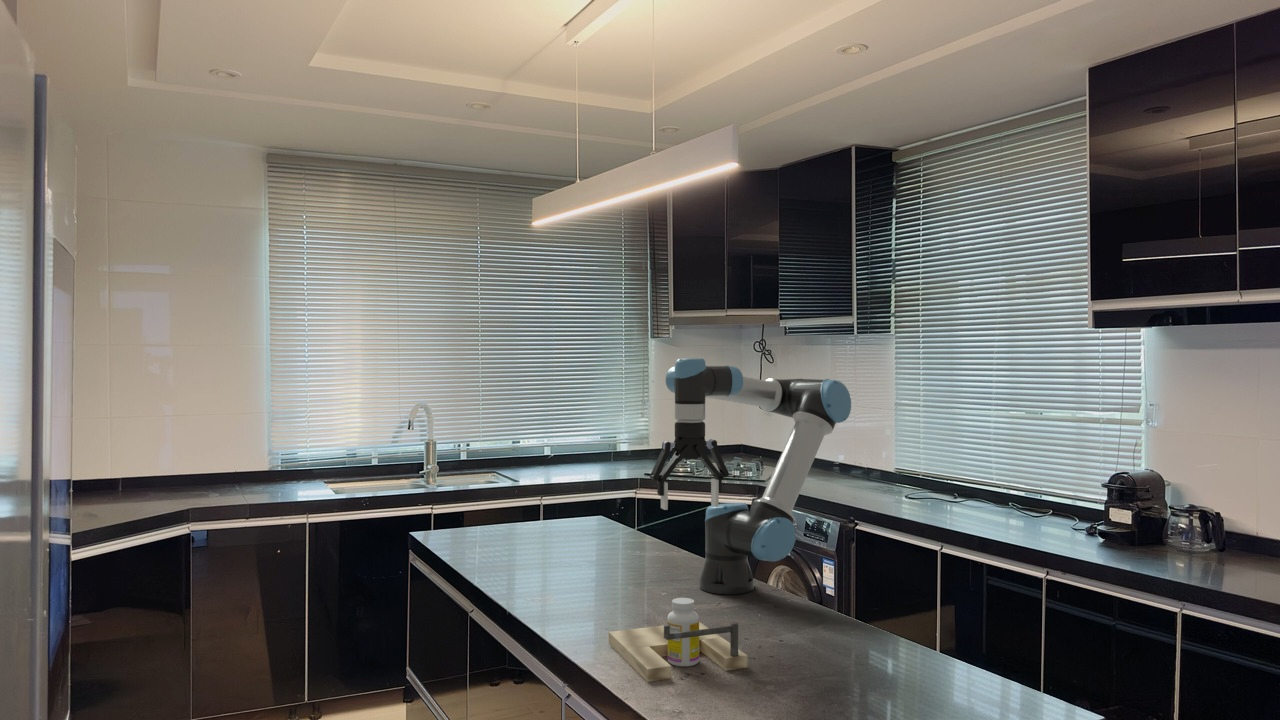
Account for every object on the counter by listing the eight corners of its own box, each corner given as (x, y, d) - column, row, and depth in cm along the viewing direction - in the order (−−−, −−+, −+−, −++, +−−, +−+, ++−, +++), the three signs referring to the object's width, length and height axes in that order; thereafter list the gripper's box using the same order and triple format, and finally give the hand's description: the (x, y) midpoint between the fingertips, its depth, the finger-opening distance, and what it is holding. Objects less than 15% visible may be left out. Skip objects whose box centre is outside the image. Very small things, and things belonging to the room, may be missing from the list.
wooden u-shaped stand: (698, 632, 197) (698, 588, 197) (747, 667, 174) (747, 617, 174) (608, 643, 189) (608, 597, 189) (647, 681, 167) (647, 629, 167)
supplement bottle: (697, 656, 181) (697, 596, 181) (700, 667, 174) (701, 605, 174) (666, 656, 181) (666, 596, 181) (668, 667, 174) (668, 605, 174)
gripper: (728, 418, 217) (728, 501, 217) (637, 421, 208) (636, 507, 208) (742, 420, 210) (742, 506, 210) (648, 423, 201) (648, 513, 201)
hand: (689, 507), depth 209 cm, fingers open, 13 cm apart
